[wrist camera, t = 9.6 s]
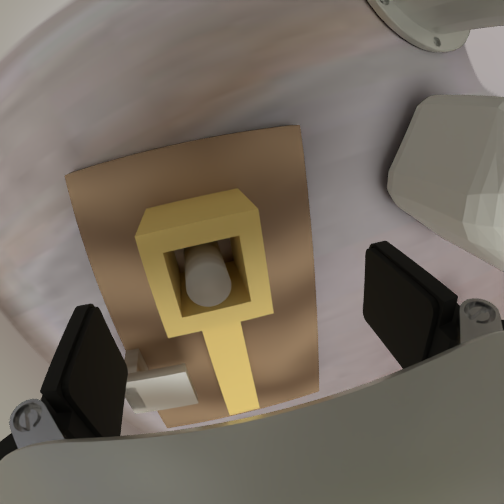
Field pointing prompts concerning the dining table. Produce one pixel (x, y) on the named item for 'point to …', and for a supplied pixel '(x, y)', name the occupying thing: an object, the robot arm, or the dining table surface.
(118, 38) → the dining table surface
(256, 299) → the link
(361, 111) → the dining table surface
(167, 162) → the bracket base
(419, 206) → the soap bottle
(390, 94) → the dining table surface
